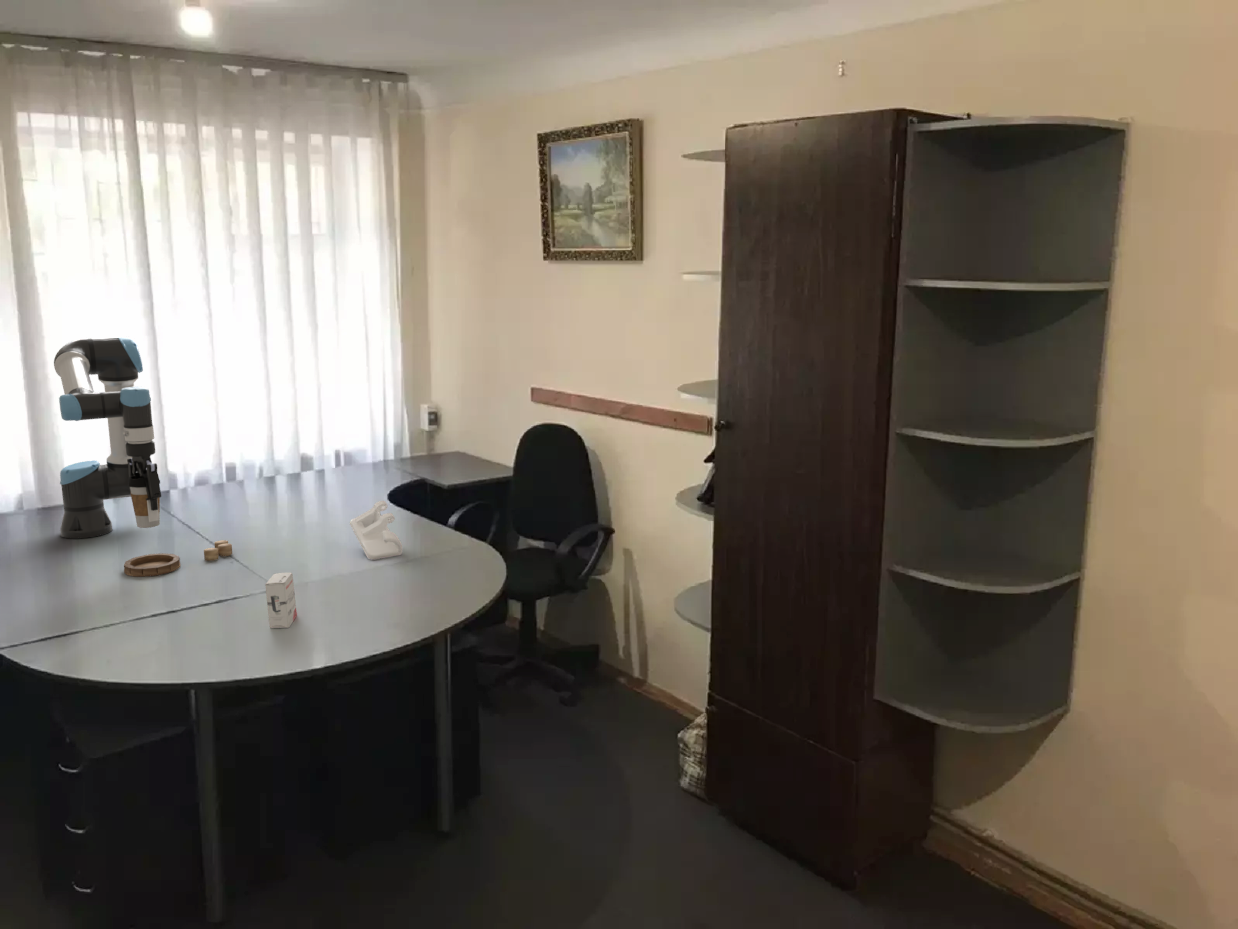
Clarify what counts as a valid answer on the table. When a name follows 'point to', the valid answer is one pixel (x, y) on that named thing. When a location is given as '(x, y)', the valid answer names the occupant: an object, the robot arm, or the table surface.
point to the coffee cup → (141, 502)
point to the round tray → (152, 565)
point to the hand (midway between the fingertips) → (147, 518)
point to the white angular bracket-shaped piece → (376, 533)
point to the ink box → (281, 600)
